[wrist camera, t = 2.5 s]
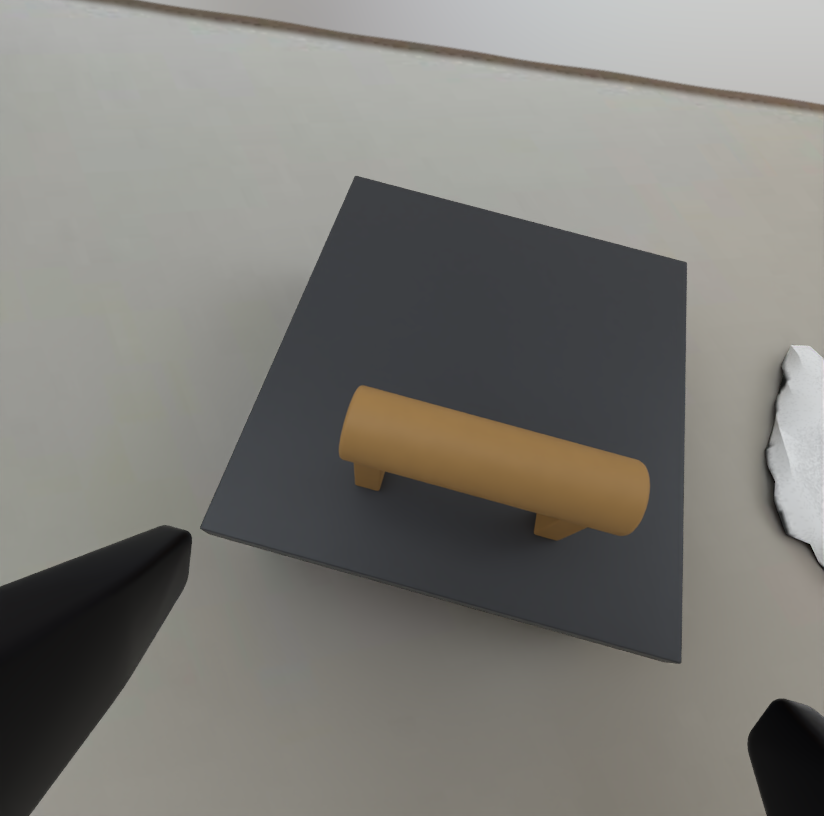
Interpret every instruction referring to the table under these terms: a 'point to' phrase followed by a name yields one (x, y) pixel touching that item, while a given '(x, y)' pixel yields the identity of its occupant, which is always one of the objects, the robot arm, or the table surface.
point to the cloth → (800, 448)
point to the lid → (478, 421)
